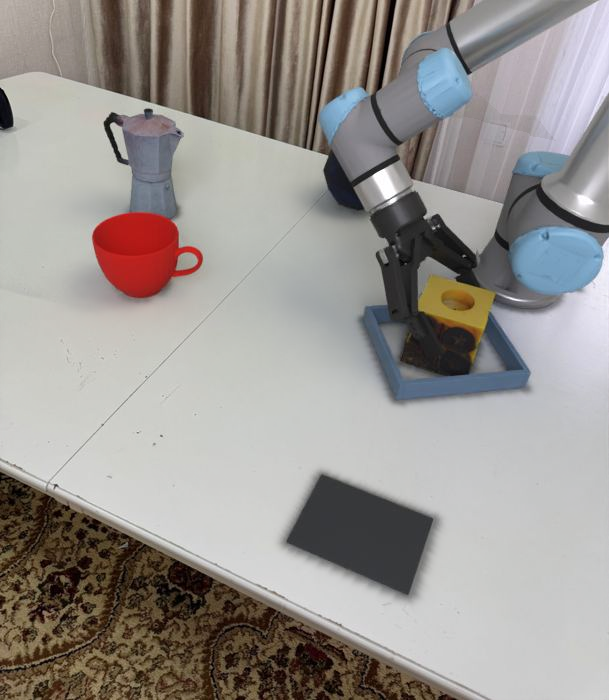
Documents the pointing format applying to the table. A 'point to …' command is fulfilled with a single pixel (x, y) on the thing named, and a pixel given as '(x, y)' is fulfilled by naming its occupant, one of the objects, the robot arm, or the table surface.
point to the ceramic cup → (140, 252)
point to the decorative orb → (340, 184)
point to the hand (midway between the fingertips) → (460, 332)
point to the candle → (450, 325)
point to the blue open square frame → (448, 384)
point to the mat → (362, 533)
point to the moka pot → (148, 159)
